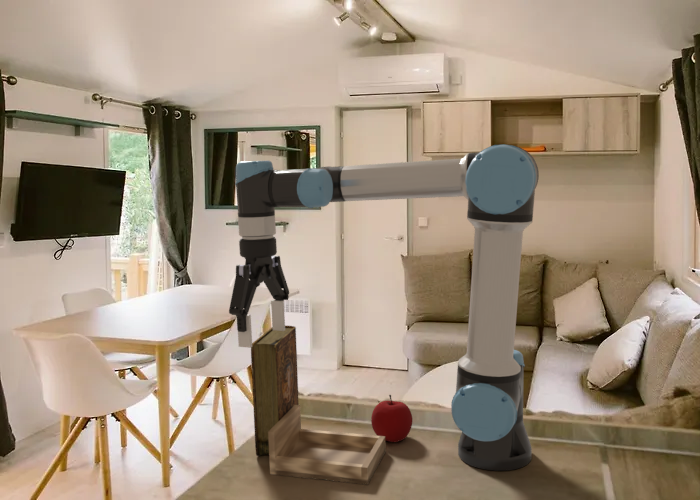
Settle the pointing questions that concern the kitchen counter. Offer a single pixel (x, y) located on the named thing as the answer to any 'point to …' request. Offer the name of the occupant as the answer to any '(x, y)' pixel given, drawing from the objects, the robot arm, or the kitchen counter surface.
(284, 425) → the tray
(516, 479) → the kitchen counter surface
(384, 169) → the robot arm
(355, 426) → the kitchen counter surface
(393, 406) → the apple
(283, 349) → the book
